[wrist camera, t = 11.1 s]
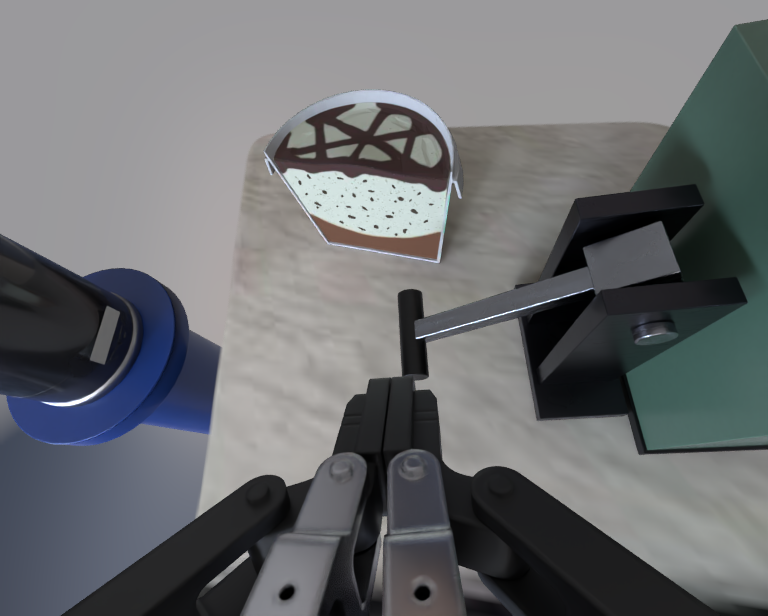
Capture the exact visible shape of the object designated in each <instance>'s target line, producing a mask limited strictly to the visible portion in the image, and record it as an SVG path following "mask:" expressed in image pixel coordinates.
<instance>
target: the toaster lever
mask: <svg viewBox="0 0 768 616" xmlns="http://www.w3.org/2000/svg"><path fill="white" fill-rule="evenodd" d="M583 251H584V255H585V258H586V262H587V267H584V268H581V269H577V270H574V271H571V272H568V273H565V274H562V275H558V276H555V277H552V278H549V279H546V280H543V281H539V282H536V283H533V284H530V285H527V286H524V287H520V288H517V289H514V290H511V291H508V292H505V293H501V294H498V295H495V296H492V297H489V298H486V299H482V300H479V301H476V302H473V303H470V304H467V305H463V306H460V307H457V308H454V309H451V310H448V311H444V312H441V313H438V314H435V315H432V316H429V317H425V318H424V311H423V298H422V292H421V291H419V290H415V289H408V290H403V291H401V292H399V294H398V309H399V328H400V346H401V365H402V377H404V376H414V381H415V380H423V379H426V378H428V377H429V372H428V360H427V348H426V343H427V342H430V341H434V340H438V339H441V338H445V337H449V336H452V335H456V334H460V333H464V332H467V331H471V330H475V329H478V328H482V327H486V326H489V325H493V324H497V323H500V322H504V321H508V320H511V319H515V318H519V317H523V316H526V315H530V314H534V313H537V312H541V311H545V310H548V309H552V308H556V307H559V306H563V305H567V304H571V303H574V302H578V301H582V300H585V299H589V298H593V297H595V296H596V295H597V294H598V293H599V291H600V290H604V289H614V288H625V287H635V286H646V285H657V284H667V283H678V282H684V279H683V276H682V272H681V269H680V266H679V264H678V261H677V258H676V256H675V253H674V250H673V248H672V245H671V243H670V240H669V237H668V235H667V232H666V229H665V227H664V224H663V222H662V221H658V222H655V223H652V224H649V225H647V226H644V227H641V228H638V229H635V230H632V231H629V232H626V233H623V234H620V235H617V236H615V237H612V238H609V239H606V240H603V241H600V242H597V243H594V244H591V245H588V246H586V247H583Z"/></svg>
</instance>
